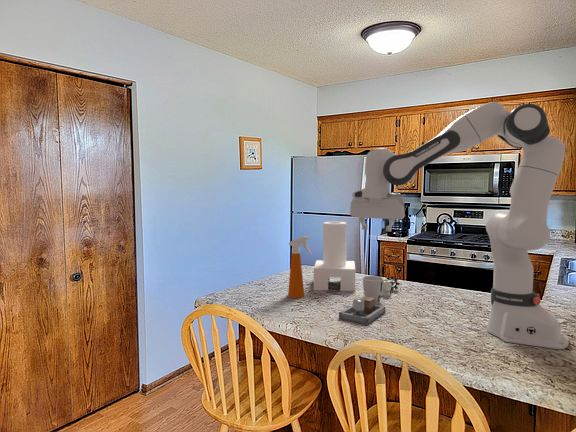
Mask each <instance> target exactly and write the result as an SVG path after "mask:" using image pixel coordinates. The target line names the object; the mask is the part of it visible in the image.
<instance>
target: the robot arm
mask: <svg viewBox="0 0 576 432" xmlns="http://www.w3.org/2000/svg"><path fill="white" fill-rule="evenodd" d="M548 121H549V120H548V116H547V114H546V112H545V110H544V109H543V108H542V107H541V106H539V105H537V104H535V103H525V104H521V105H518V106H516V107H515V108H513V109H512V110H511V111H508V110H507V109H506V108H505V106H503V105H502V104H501V103H499V102H497V101H490V102H487V103H484V104H482V105H479V106H477V107H475V108H472V109H471V110H468V112H465V113H464V114H463V115H461V116H459V117H458V118H456V119H455V120H453V121H452V122H450V124H448V125H447V126H446V127H445V128H444V129H443V130H442V131H440V133H438V134H437V135H436V136H435V137H433V138H432V139H430V140H428V141H427V142H424V144H422V145H420V146H418V147H417V148H415V149H413V150H411V151H409V152H407V153H403V154H402V153H401V154H397V153H395V152H394V151H391V150H390V149H389V148H386V147H380V148H375V149H371V150H370V151H369V152H368V153H367V154H366V158H365V164H364V165H365V167H364V175H365V183H364V188H362V189H358V190H356V191H353V192H352V195H351V196H352V200H351V201H350V208H349V210H350V213H349V214H350V216H351V217H352V218H359V219H358V221H359V223H360V225H361V229H362V230H364V231H366V230H368V229H369V228H368V225H369V224H366V222H365V220H366V219H381V220H382V219H383V220H384V219H386V220H388V223H389V224H388V225H387V226H385V231H386V232H392V227H393V226H394V224H395V220H403V219H404V218H405V217H406V213H405V212H406V210H405V202H406V201H405V200H406V198H405V196H404V195H403V194H401V193H399V192H398V193H394V192H391V193H390V184H391V185H394V186H403V185H405V184H408V183H410V182H412V181H413V180H414V178H416V176H417V173H418V171H419V170H420V169H421V168H424V167H426V166H427V165H428V164H431V163H432V162H434V161H435V160H437V159H439V158H441V157H443V156H445V155H449V154H453V153H454V154H456V153H462V152H465V151H467V150H469V149H471V148H474V147H476V146H478V145H480V144H481V143H483V142H485V141H486V140H488V139H489V138H490V139H491V138H492V137H494V136H497V137H498V138H499V139H501V140H502V141H503V142H505V143H506V144H507V145H509V146H510V147H512V148H515V149H522V151H523V152H522V153H523V154H522V158H521V160H520V163H519V164H518V168H517V170H516V172H515V173H516V174H515V175H514V178H513V181H512V183H511V186H510V188H509V193H510V194H509V195H510V205H509V206H510V207H509V211H506V210H505V211H500V212H497V213H494V214H492V215H490V217H489V218H488V219H487V221H486V224H485V230H486V233H487V235H488V238H489V244H490V249H491V255H492V260H493V274H492V275H493V279H492V280H493V282H492V287H491V290H490V305H491V308H490V314H489V318H488V322H487V324H486V326H485V329H486V331H487V332H488V333H490V334H491V335H493V336H495V337H498V339H500V340H501V341H503V342H507V343H514V344H519V345H526V346H533V347H541V348H547V349H553V350H564V349H566V348H568V346H569V344H570V343H569V340H570V339H569V337H568V335H566V334H565V332H562V331H561V326H560V323H559V321H558V319H557V318H556V316H554V315H553V314H552V313H551V312H550V311H548V310H547V309H546V308H544V307H543V306H542V305H540V304H541V301H542V299H541V296H540V293H536V292H535V291H534V290H533V288H534V266H533V263H532V262H531V259H530V256H529V253H528V251H537V250H540V249H542V248H543V247H545V245H546V244H548V242H549V239H550V228H549V226H548V224H547V219H548V208H549V205H550V198H551V196H552V195H553V191H554V188H555V185H556V184H557V183H556V182H557V180H558V178H559V175H560V173H561V170H562V166H563V163H564V159H565V153H566V145H565V143H564V142H563V141H562V140H561V139H559V138H557V137H554V136H551V135H549V134H550V133H551V130H550V125H549V122H548Z"/></svg>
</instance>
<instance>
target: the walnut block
mask: <svg viewBox="0 0 576 432" xmlns="http://www.w3.org/2000/svg"><path fill="white" fill-rule="evenodd" d="M359 299H362V300H364V313H366V314H371V313H372V312H374V311H375V305H376V304H375V298H371V297H366V296H365V295H364V296H361V297H360V298H359Z"/></svg>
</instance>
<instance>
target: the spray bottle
mask: <svg viewBox="0 0 576 432" xmlns="http://www.w3.org/2000/svg"><path fill="white" fill-rule="evenodd" d="M309 239H310V238H309V235H308V236H307V235H303V236H300V237H297V238H295V239H292V240H291V241H290V242H288V245H289V246H292V248H291V255H290V256H291V257H290V268H289V270H290V271H289V283H288V292H287V296H288V298H291V299H303V298H304V297H305V289H304V288H305V287H304V277H303V268H302V260H301V259H302V257H301V248H300V246H301V247H302V248H304V250H305V251H306V252H308V253H309V254H311V255H313V253H312V251H311V249H309V247H308V244H307V243H308V242H307V241H308V240H309Z"/></svg>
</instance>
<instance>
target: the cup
mask: <svg viewBox="0 0 576 432" xmlns="http://www.w3.org/2000/svg"><path fill="white" fill-rule="evenodd" d="M383 280H384V277H382V276H378V275H377V276H376V275H367V276H363V277H362V284H363V285H362V287H363V294H364V296H366V297H371V298H375V305H377V304H379V303H380V301H381V298H382V289H383Z"/></svg>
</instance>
